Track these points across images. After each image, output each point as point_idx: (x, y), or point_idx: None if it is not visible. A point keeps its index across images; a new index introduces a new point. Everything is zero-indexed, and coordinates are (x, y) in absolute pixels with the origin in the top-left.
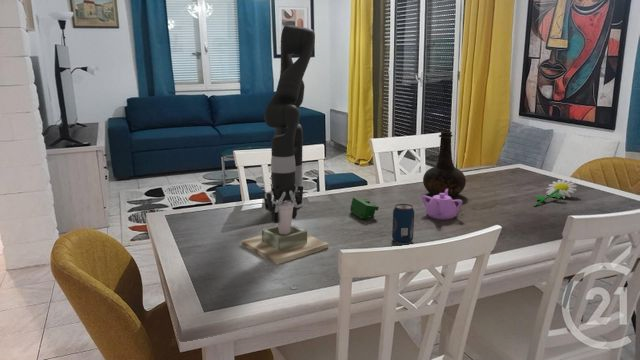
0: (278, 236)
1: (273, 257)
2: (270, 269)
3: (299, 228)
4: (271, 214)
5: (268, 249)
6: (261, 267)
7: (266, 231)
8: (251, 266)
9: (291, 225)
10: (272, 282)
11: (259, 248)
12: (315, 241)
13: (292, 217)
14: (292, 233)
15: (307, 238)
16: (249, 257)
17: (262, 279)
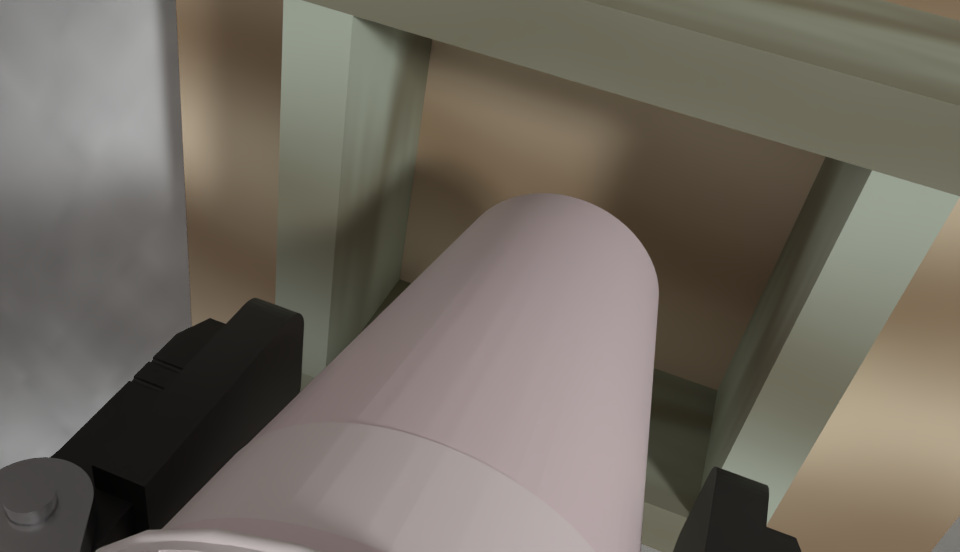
0: (303, 345)
1: (197, 323)
2: (132, 341)
3: (779, 458)
4: (95, 415)
5: (277, 159)
6: (91, 261)
7: (298, 67)
8: (29, 176)
9: (859, 279)
10: (50, 443)
11: (212, 41)
12: (855, 506)
13: (682, 536)
14: (796, 254)
15: (914, 390)
16: (97, 9)
17: (13, 372)
